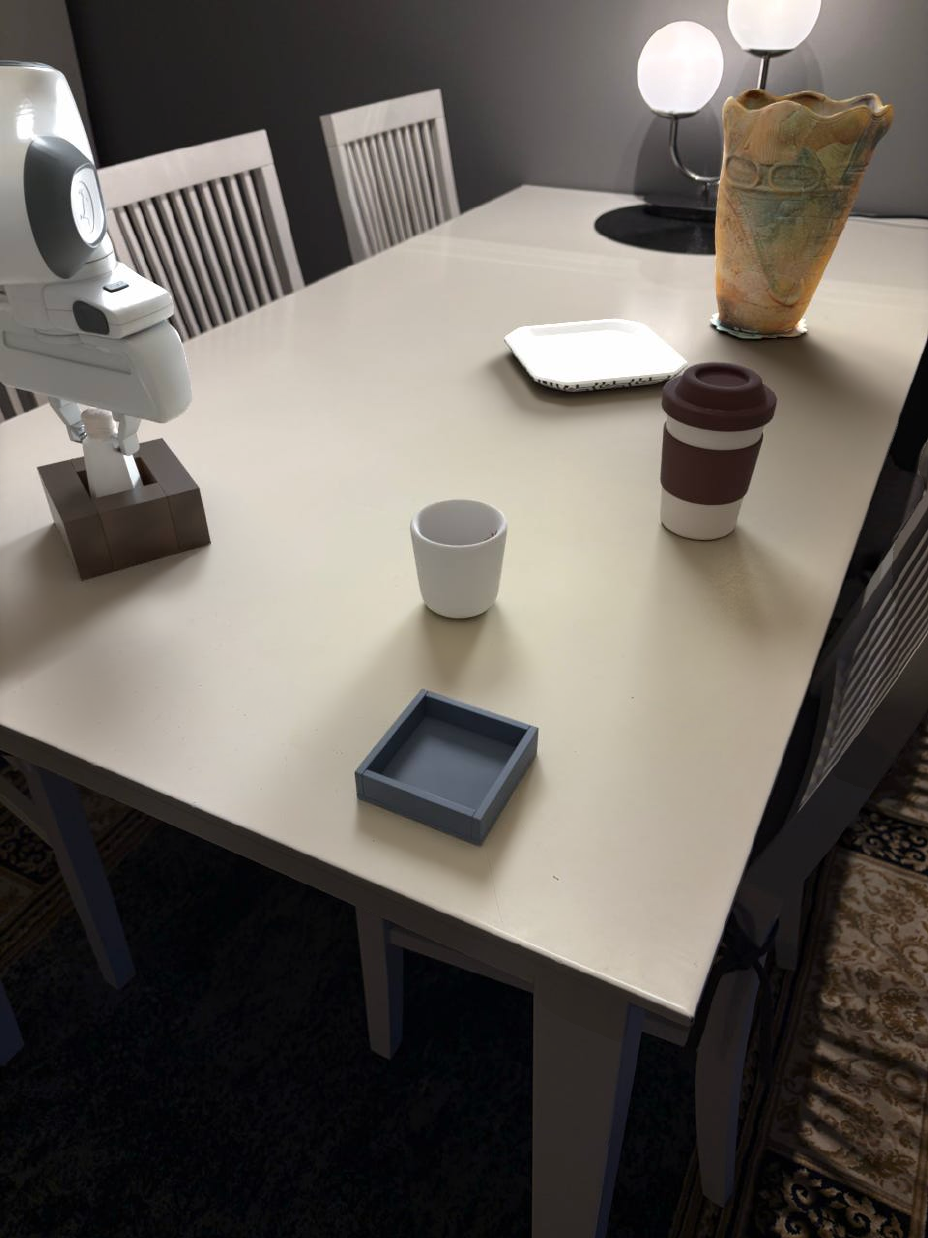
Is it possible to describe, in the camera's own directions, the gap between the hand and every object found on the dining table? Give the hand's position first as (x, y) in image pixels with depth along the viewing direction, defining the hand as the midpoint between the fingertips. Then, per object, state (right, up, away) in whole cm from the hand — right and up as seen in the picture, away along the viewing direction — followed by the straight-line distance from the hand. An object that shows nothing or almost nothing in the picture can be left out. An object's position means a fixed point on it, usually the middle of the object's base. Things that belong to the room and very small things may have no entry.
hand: (105, 446), depth 82 cm
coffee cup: (+55, -6, +7) cm, 56 cm away
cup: (+32, -13, -2) cm, 35 cm away
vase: (+77, +27, +51) cm, 96 cm away
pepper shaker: (0, -6, +5) cm, 8 cm away
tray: (+31, -26, -20) cm, 46 cm away
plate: (+50, +18, +39) cm, 66 cm away
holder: (0, -7, +6) cm, 9 cm away
